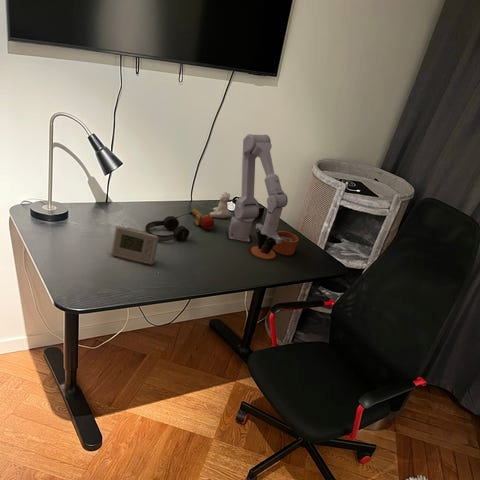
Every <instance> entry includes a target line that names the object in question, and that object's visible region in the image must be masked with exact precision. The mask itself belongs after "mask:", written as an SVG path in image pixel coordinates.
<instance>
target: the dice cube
mask: <svg viewBox="0 0 480 480" xmlns="http://www.w3.org/2000/svg"><path fill="white" fill-rule="evenodd" d="M281 239H283V240H286V241H292V238H287V237H283V236H281Z"/></svg>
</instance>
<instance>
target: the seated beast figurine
mask: <svg viewBox="0 0 480 480" xmlns="http://www.w3.org/2000/svg"><path fill="white" fill-rule="evenodd" d="M230 197H231V194H230V193H228V192H223V194H221V195H220V197H219V203H218V205H217V206H216V207H213V208H212V211H211V212H209V213H210V214H211V216H212V218H213V219H226V218H228V217H229V216H230V210H229V207H228V205H229V204H228V202H229V200H230Z"/></svg>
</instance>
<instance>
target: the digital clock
mask: <svg viewBox="0 0 480 480" xmlns="http://www.w3.org/2000/svg"><path fill="white" fill-rule="evenodd" d="M153 234H154V233H153ZM153 234H149V233H147V232H145V231H143V230H138V229H134V228H131V227H124V226H121V225H117V226H116V227H115V229H114V234H113V241H112V245H111V252H110V254H111V255H112V256H113V257H117V258H120V259H123V260H127V261H131V262H135V263H139V264H146V265H154V263H155V258H156V253H157V248H158V243H159V241H158V236H156V235H157V234H156V235H153Z"/></svg>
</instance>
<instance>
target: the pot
mask: <svg viewBox="0 0 480 480" xmlns="http://www.w3.org/2000/svg"><path fill="white" fill-rule="evenodd" d="M276 233H277V234H278V236H279V237H280V238H281V236H283V237H287V238H292V241H286V240H283V239H282V241H281V243H279V244H277V243H276V244H275V245H274V247H273V248H272V250H273V251H274V252H275V253H278V254H281V255H284V256H293V255H294V254H295V251H296V249H297V246H298V242H299V237H298V236H297V235H296V234H294V233H292V232H289V231H285V230H279V231H276Z"/></svg>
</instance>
